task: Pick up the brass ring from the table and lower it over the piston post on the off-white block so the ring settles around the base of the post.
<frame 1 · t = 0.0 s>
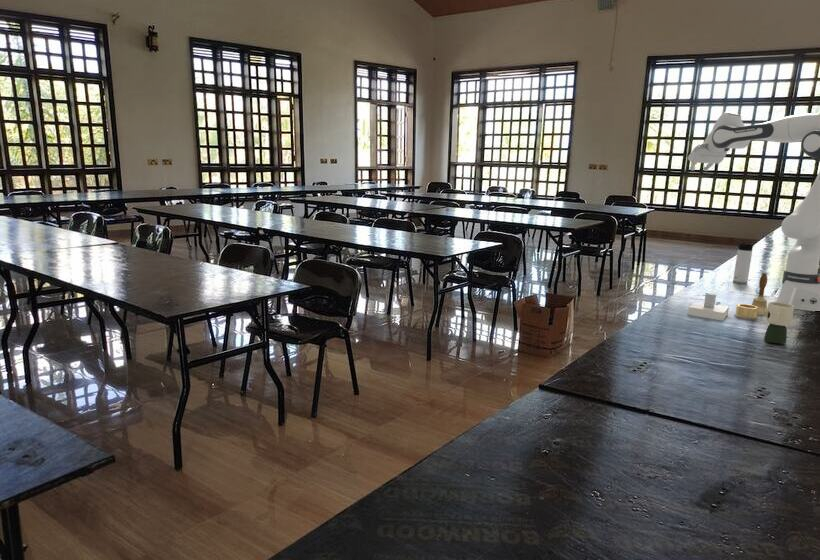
hand: (698, 170, 282), 54 cm above the table, tool tilted 30°, fingers open, 8 cm apart
character mug: (774, 343, 189), on the table
hand bell: (758, 312, 230), on the table
travel mug: (739, 283, 288), on the table
brass ring: (745, 316, 223), on the table
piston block: (707, 314, 223), on the table
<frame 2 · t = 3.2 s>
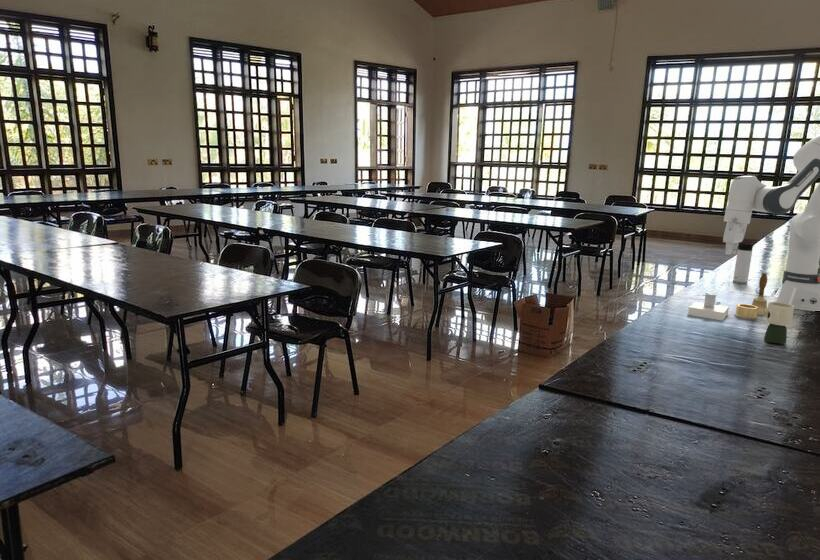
hand: (730, 254, 223), 23 cm above the table, tool pointing down, fingers open, 8 cm apart
nothing on the table moved.
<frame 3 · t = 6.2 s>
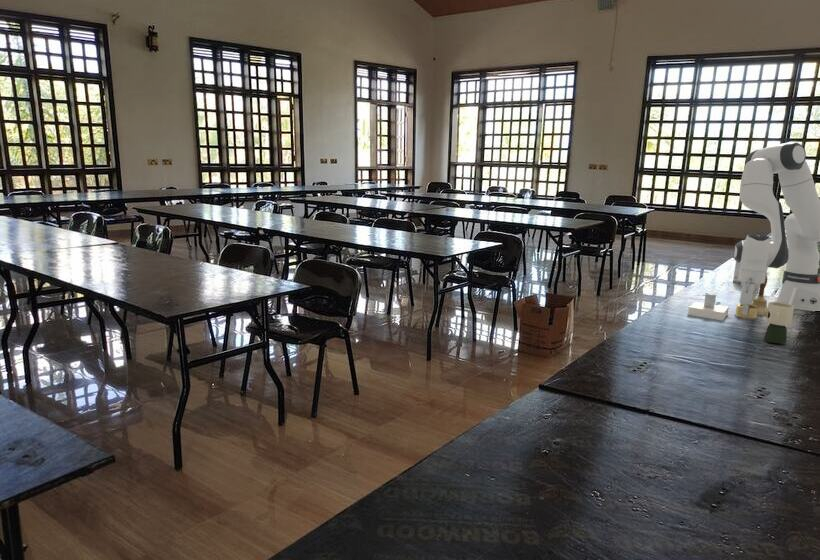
hand: (746, 312, 222), 2 cm above the table, tool pointing down, fingers closed on brass ring, 7 cm apart
brass ring: (746, 316, 223), on the table, touching gripper
everything else where it was.
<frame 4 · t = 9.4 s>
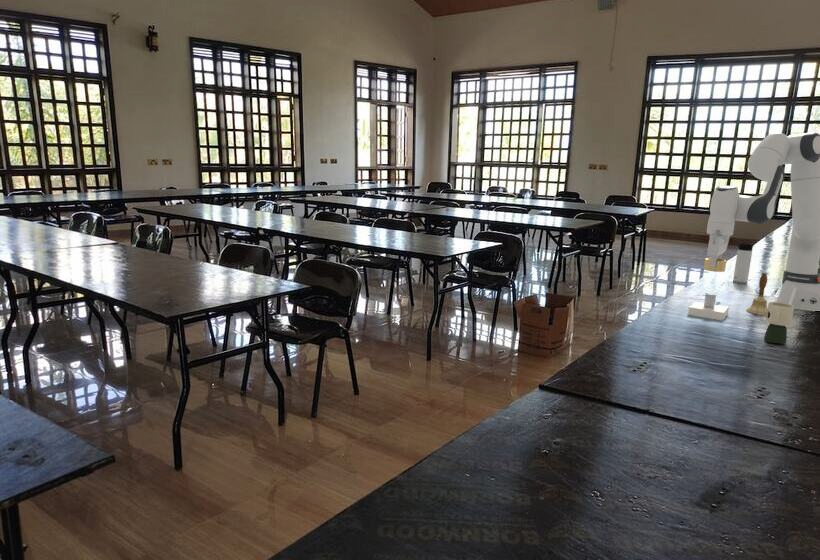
hand: (714, 265, 219), 19 cm above the table, tool pointing down, fingers closed on brass ring, 7 cm apart
brass ring: (714, 269, 220), point 18 cm above the table, touching gripper
everything else where it was.
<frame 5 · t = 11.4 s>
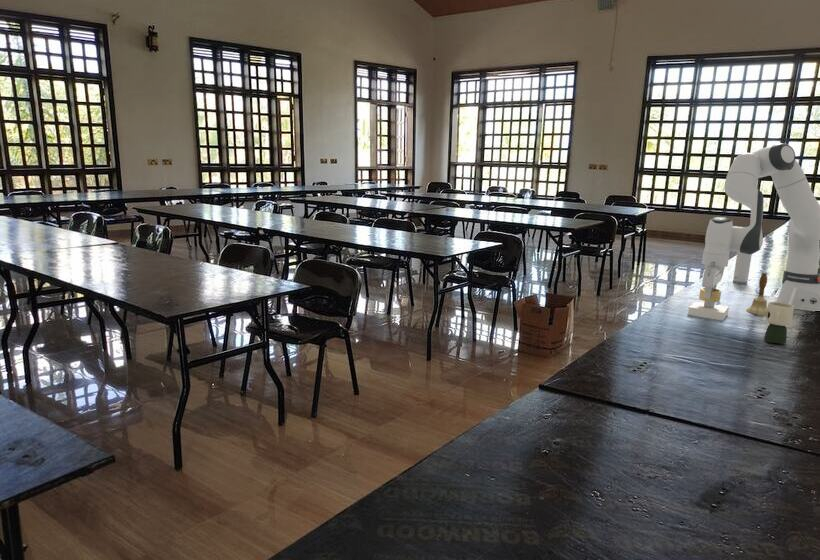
hand: (709, 295, 222), 7 cm above the table, tool pointing down, fingers closed on brass ring, 7 cm apart
brass ring: (709, 299, 222), point 6 cm above the table, touching gripper
everything else where it was.
when the fingers open (6 cm above the table, at t = 12.9 s): brass ring drops 1 cm, resting on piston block.
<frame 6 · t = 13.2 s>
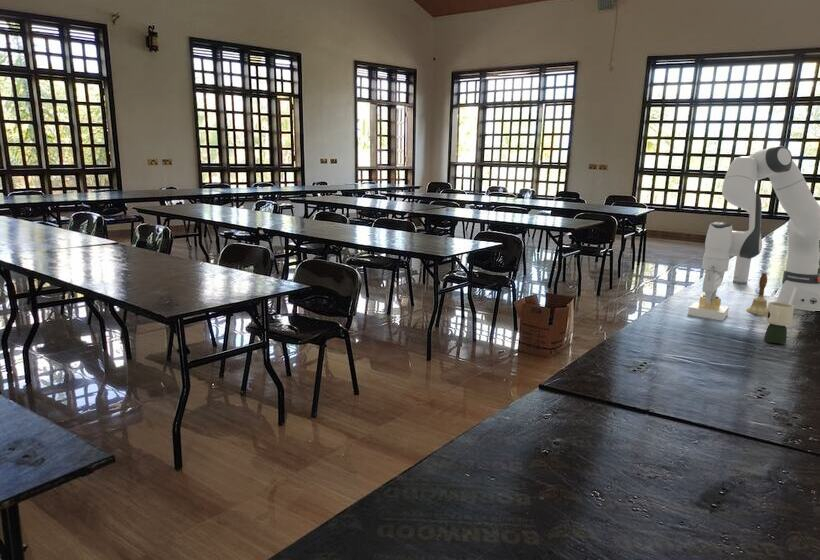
hand: (710, 300, 222), 6 cm above the table, tool pointing down, fingers open, 8 cm apart
brass ring: (709, 307, 222), point 3 cm above the table, touching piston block
everything else where it was.
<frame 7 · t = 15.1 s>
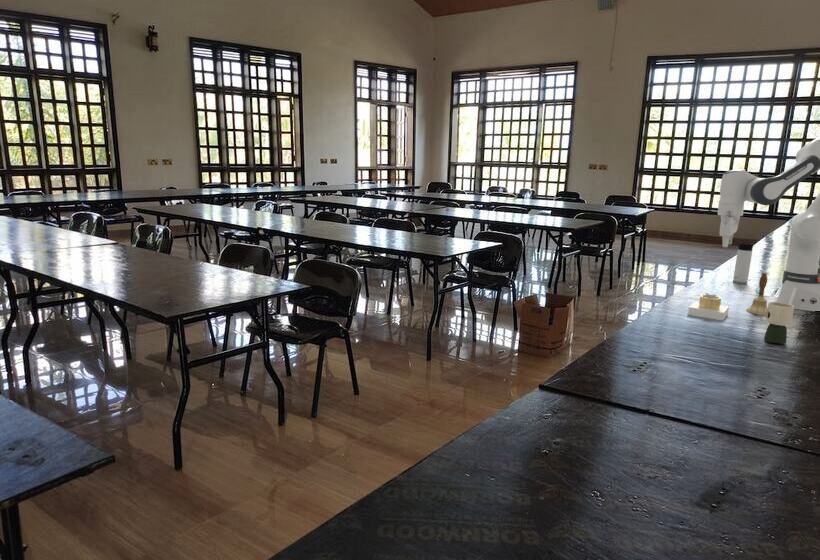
hand: (726, 245, 231), 25 cm above the table, tool pointing down, fingers open, 8 cm apart
nothing on the table moved.
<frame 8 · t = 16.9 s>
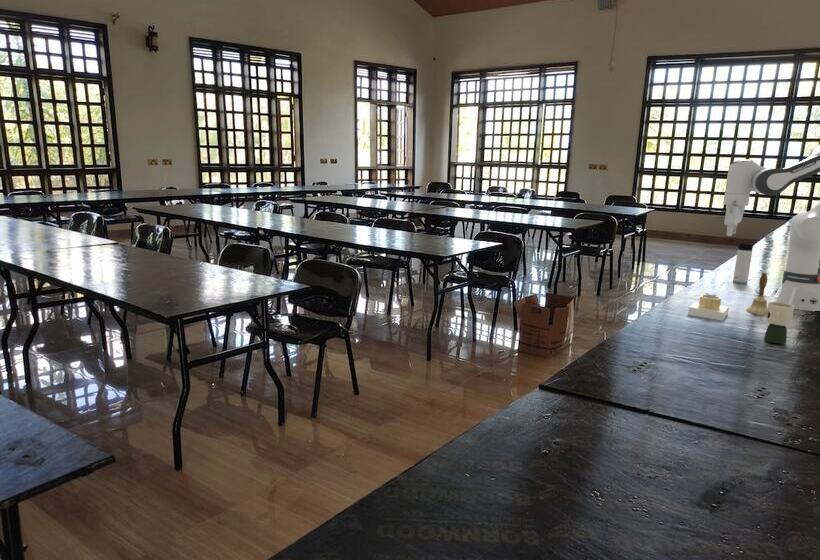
hand: (730, 234, 235), 29 cm above the table, tool pointing down, fingers open, 8 cm apart
nothing on the table moved.
at the end: brass ring 0.1 cm from the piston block (horizontally); brass ring point 3.0 cm above the table; the gripper is holding nothing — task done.
